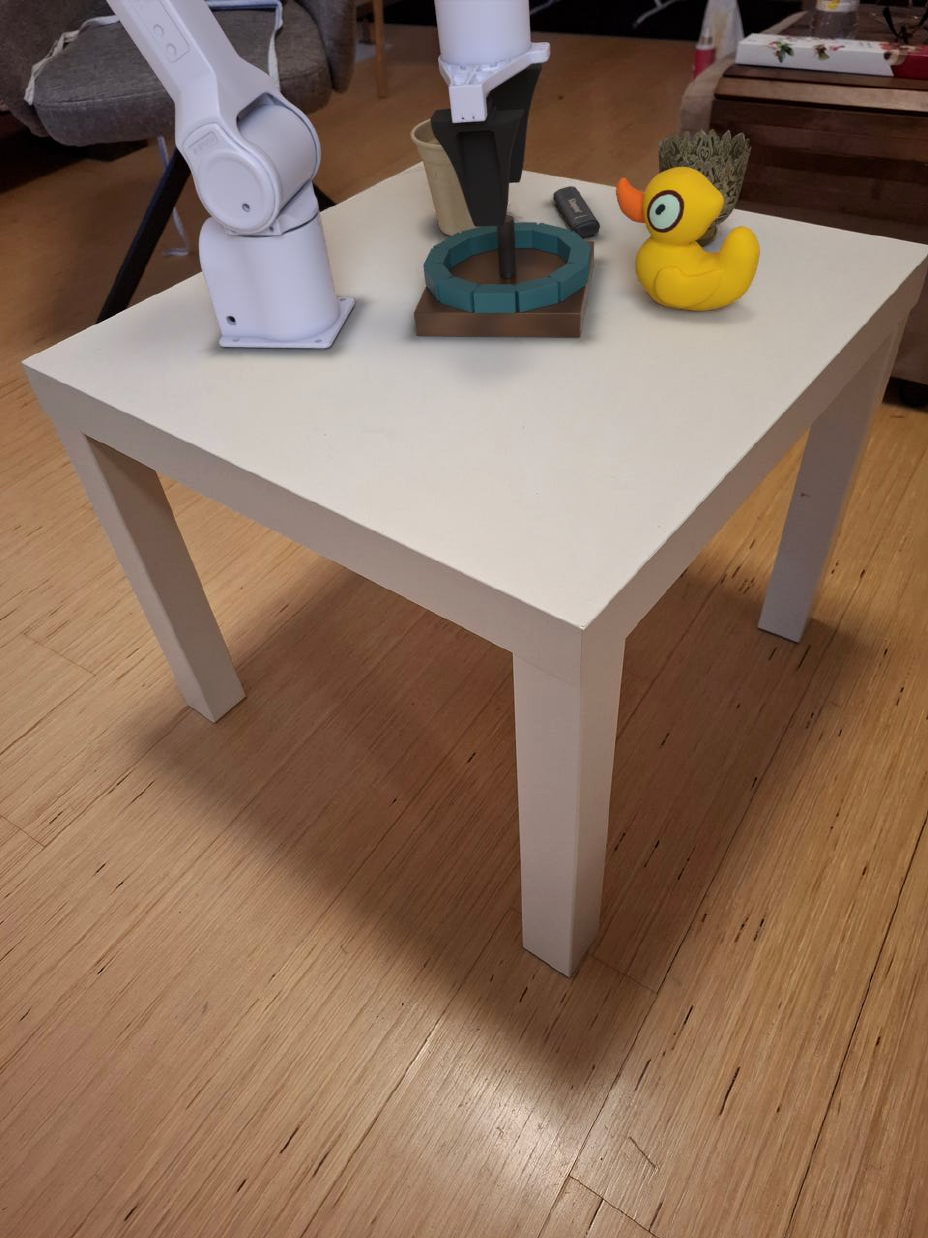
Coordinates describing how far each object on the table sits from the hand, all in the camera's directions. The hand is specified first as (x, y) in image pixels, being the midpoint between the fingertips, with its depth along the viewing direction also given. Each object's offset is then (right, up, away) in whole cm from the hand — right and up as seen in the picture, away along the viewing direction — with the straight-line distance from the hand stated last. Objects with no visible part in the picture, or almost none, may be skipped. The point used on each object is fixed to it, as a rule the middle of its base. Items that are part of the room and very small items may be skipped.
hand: (498, 201), depth 62 cm
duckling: (+15, -5, +8) cm, 17 cm away
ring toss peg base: (+1, -3, +11) cm, 12 cm away
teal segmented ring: (+1, -1, +10) cm, 10 cm away
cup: (+18, +4, +16) cm, 24 cm away
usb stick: (+8, +8, +21) cm, 24 cm away
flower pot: (-2, +8, +22) cm, 24 cm away
